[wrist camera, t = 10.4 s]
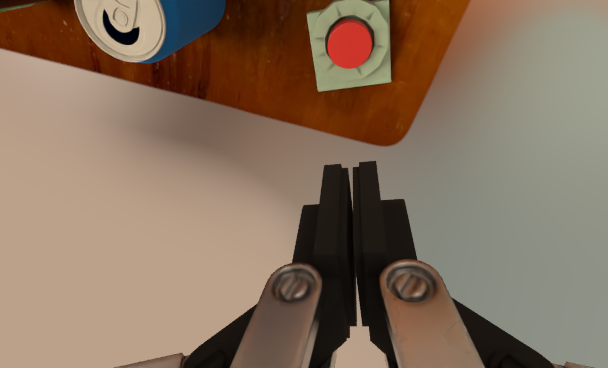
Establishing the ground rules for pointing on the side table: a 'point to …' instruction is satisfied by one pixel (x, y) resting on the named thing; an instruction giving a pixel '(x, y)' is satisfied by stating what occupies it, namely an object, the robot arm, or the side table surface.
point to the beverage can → (147, 25)
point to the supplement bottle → (20, 4)
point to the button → (349, 43)
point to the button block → (376, 18)
